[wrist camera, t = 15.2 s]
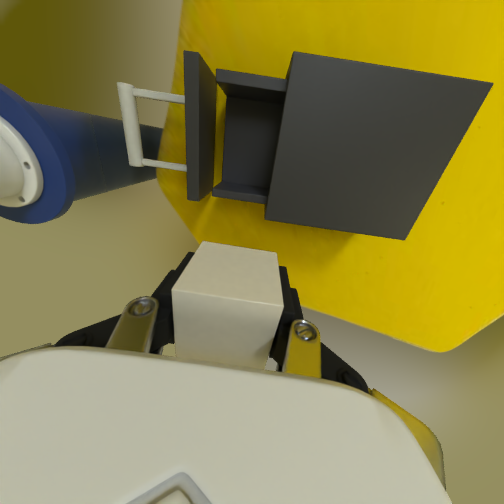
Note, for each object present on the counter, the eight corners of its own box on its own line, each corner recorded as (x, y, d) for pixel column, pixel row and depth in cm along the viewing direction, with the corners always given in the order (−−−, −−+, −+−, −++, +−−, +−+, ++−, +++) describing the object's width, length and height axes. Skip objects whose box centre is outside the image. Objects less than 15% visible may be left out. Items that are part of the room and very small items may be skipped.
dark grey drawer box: (264, 200, 27) (264, 219, 20) (283, 84, 21) (293, 50, 14) (367, 216, 27) (405, 240, 20) (416, 105, 21) (494, 82, 14)
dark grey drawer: (149, 180, 25) (118, 189, 20) (136, 66, 20) (88, 34, 15) (304, 203, 26) (315, 219, 20) (332, 96, 20) (358, 77, 15)
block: (200, 297, 14) (175, 358, 10) (202, 240, 11) (170, 289, 8) (263, 307, 14) (263, 371, 10) (276, 252, 12) (284, 306, 8)
